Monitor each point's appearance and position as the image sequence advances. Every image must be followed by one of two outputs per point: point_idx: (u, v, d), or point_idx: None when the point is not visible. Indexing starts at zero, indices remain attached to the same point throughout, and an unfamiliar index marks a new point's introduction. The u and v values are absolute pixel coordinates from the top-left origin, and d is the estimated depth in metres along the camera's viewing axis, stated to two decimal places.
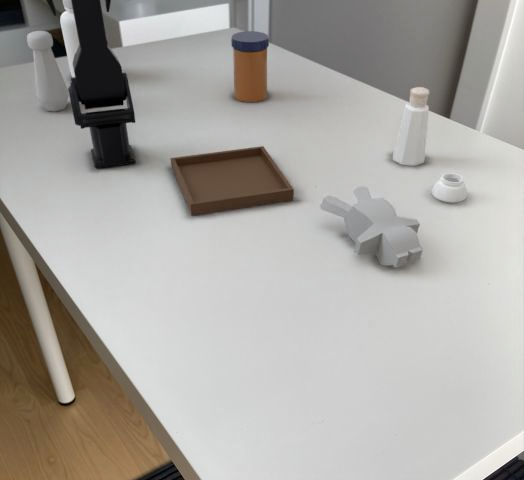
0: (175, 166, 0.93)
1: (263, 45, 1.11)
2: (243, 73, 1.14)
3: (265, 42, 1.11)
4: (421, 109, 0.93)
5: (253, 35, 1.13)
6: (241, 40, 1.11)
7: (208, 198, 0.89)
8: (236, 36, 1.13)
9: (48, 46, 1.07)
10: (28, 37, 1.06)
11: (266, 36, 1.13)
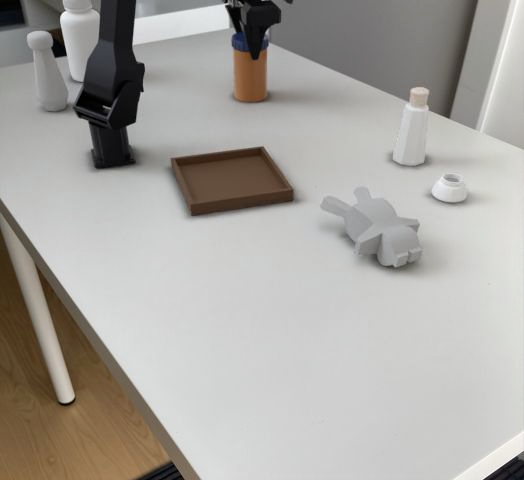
0: (175, 166, 0.93)
1: (263, 45, 1.11)
2: (243, 73, 1.14)
3: (265, 42, 1.11)
4: (421, 109, 0.93)
5: None
6: (241, 40, 1.11)
7: (208, 198, 0.89)
8: (236, 36, 1.13)
9: (48, 46, 1.07)
10: (28, 37, 1.06)
11: (266, 36, 1.13)
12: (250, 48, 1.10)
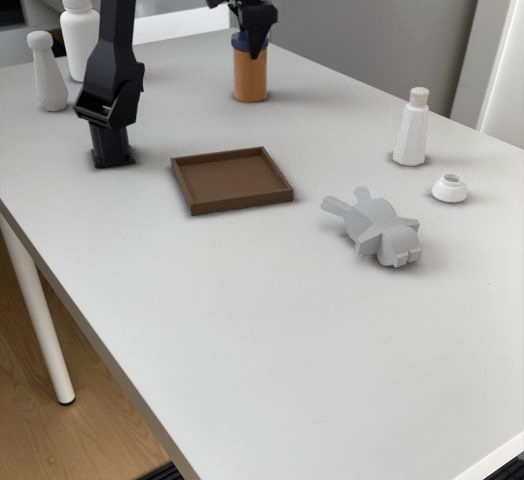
0: (175, 166, 0.93)
1: None
2: (243, 73, 1.14)
3: None
4: (421, 109, 0.93)
5: (245, 36, 1.12)
6: None
7: (208, 198, 0.89)
8: None
9: (48, 46, 1.07)
10: (28, 37, 1.06)
11: (233, 35, 1.12)
12: None
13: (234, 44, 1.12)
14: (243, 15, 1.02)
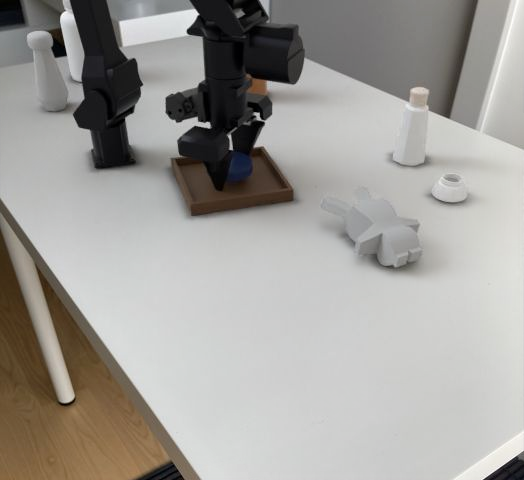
0: (175, 166, 0.93)
1: None
2: None
3: None
4: (421, 109, 0.93)
5: None
6: (247, 158, 0.91)
7: (208, 198, 0.89)
8: (241, 166, 0.89)
9: (48, 46, 1.07)
10: (28, 37, 1.06)
11: None
12: (248, 155, 0.94)
13: None
14: None
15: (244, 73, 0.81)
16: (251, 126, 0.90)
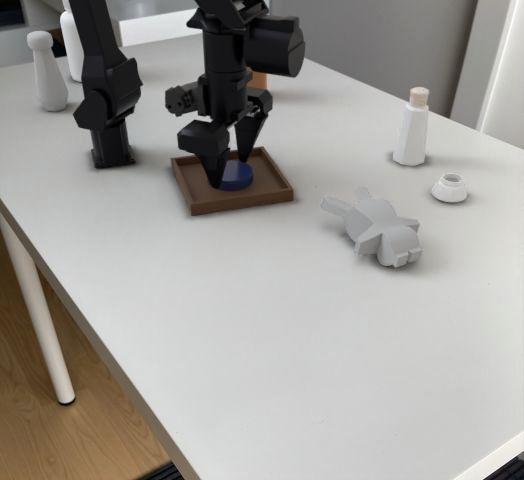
0: (175, 166, 0.93)
1: None
2: None
3: None
4: (421, 109, 0.93)
5: None
6: (248, 168, 0.92)
7: (208, 198, 0.89)
8: (242, 175, 0.90)
9: (48, 46, 1.07)
10: (28, 37, 1.06)
11: None
12: None
13: None
14: (177, 137, 0.81)
15: (244, 66, 0.80)
16: (255, 117, 0.90)
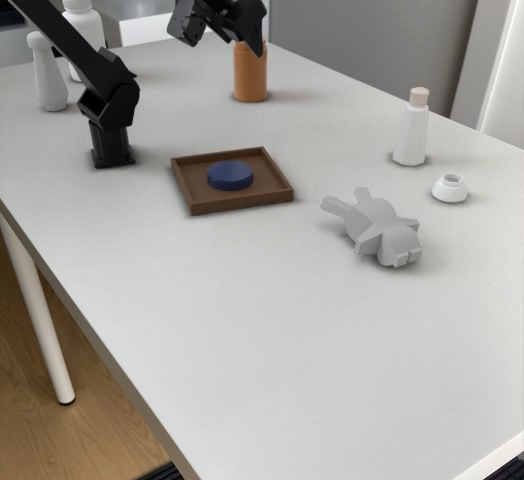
0: (175, 166, 0.93)
1: None
2: (243, 73, 1.14)
3: None
4: (421, 109, 0.93)
5: (223, 170, 0.91)
6: (248, 168, 0.92)
7: (208, 198, 0.89)
8: (242, 175, 0.90)
9: (48, 46, 1.07)
10: (28, 37, 1.06)
11: (215, 164, 0.93)
12: None
13: None
14: (236, 33, 0.90)
15: None
16: None
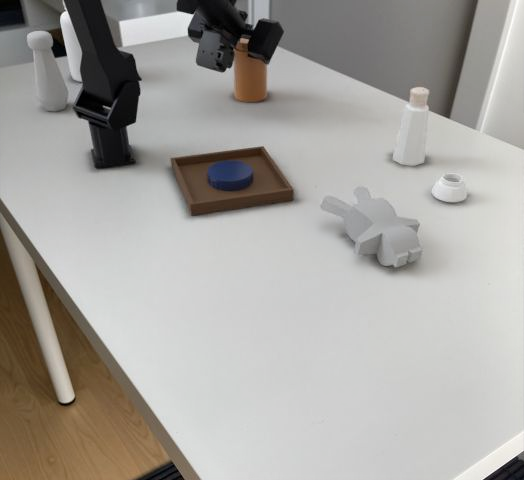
0: (175, 166, 0.93)
1: None
2: (243, 73, 1.14)
3: None
4: (421, 109, 0.93)
5: (223, 170, 0.91)
6: (248, 168, 0.92)
7: (208, 198, 0.89)
8: (242, 175, 0.90)
9: (48, 46, 1.07)
10: (28, 37, 1.06)
11: (215, 164, 0.93)
12: None
13: None
14: (265, 55, 1.04)
15: None
16: None
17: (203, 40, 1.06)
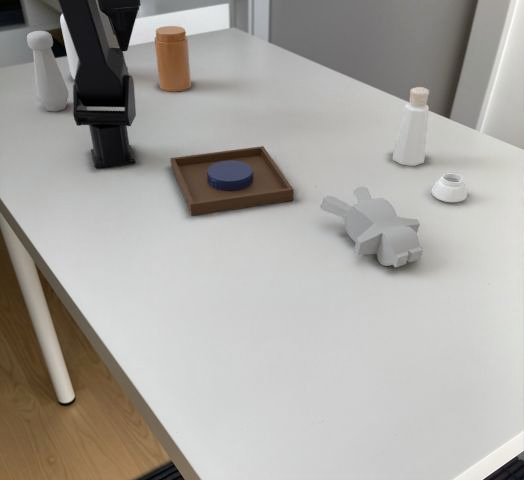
0: (175, 166, 0.93)
1: None
2: (172, 63, 1.18)
3: None
4: (421, 109, 0.93)
5: (223, 170, 0.91)
6: (248, 168, 0.92)
7: (208, 198, 0.89)
8: (242, 175, 0.90)
9: (48, 46, 1.07)
10: (28, 37, 1.06)
11: (215, 164, 0.93)
12: None
13: None
14: None
15: None
16: None
17: None
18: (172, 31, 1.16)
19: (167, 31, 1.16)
